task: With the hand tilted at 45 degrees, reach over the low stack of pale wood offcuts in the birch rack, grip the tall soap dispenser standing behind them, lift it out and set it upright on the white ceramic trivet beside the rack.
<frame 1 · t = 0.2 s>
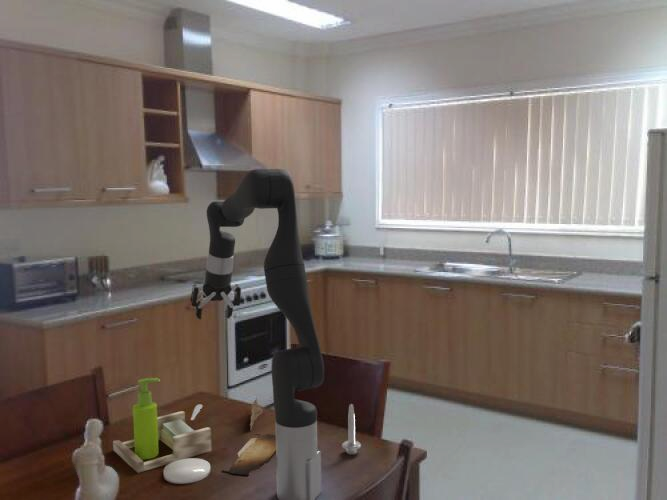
hand: (213, 317, 183), 30 cm above the table, tool tilted 20°, fingers open, 8 cm apart
screw: (351, 453, 159), on the table
soap dispenser: (149, 455, 159), resting in offcut rack
offcut rack: (160, 451, 161), on the table
butter knife: (192, 422, 183), on the table
parchment: (256, 455, 159), on the table
ceramic trivet: (187, 472, 149), on the table
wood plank: (256, 422, 182), on the table
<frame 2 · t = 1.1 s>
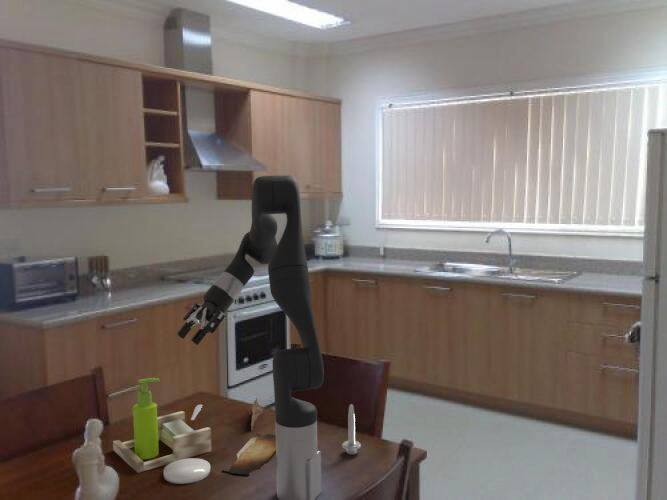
hand: (186, 339, 164), 28 cm above the table, tool tilted 45°, fingers open, 8 cm apart
nothing on the table moved.
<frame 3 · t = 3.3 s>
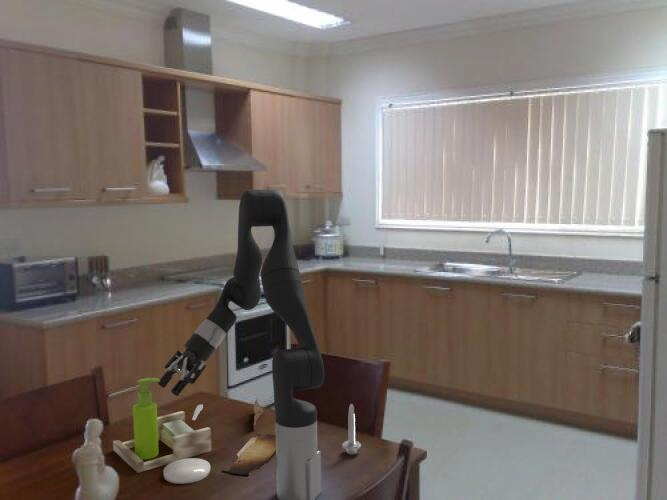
hand: (167, 389, 161), 16 cm above the table, tool tilted 45°, fingers open, 8 cm apart
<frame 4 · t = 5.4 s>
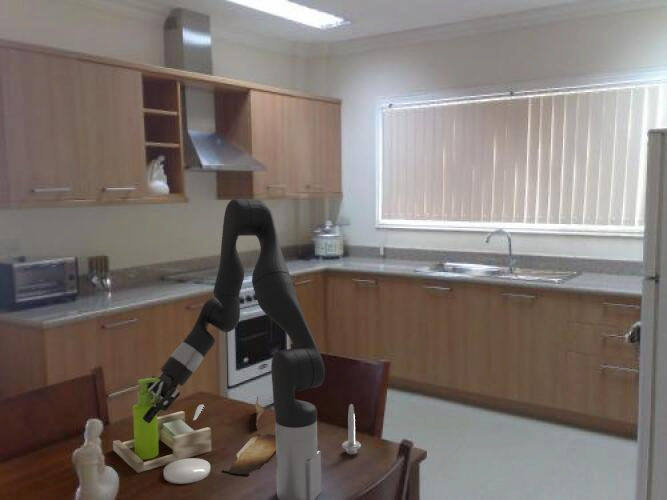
hand: (140, 417, 157), 10 cm above the table, tool tilted 45°, fingers closed on soap dispenser, 6 cm apart
soap dispenser: (149, 455, 159), resting in offcut rack, touching gripper
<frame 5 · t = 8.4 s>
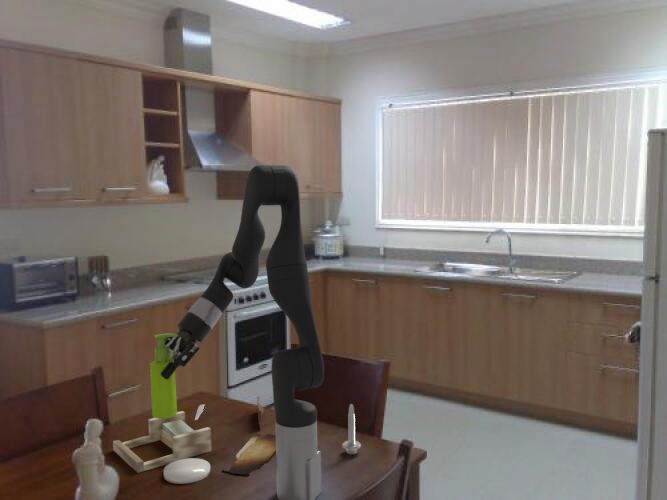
hand: (158, 374, 150), 23 cm above the table, tool tilted 45°, fingers closed on soap dispenser, 6 cm apart
soap dispenser: (167, 414, 152), point 13 cm above the table, touching gripper
when the fingers open (12 cm above the table, at t = 11.7 s): soap dispenser stays where it is, resting on ceramic trivet.
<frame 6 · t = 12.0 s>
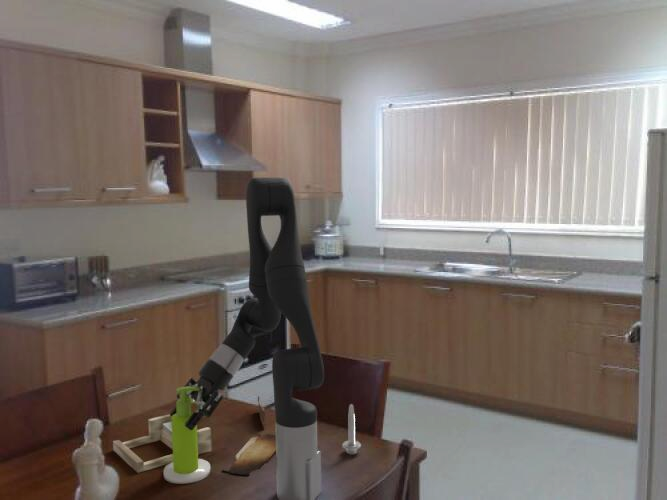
hand: (180, 422, 147), 13 cm above the table, tool tilted 45°, fingers open, 8 cm apart
soap dispenser: (188, 468, 149), point 1 cm above the table, touching ceramic trivet
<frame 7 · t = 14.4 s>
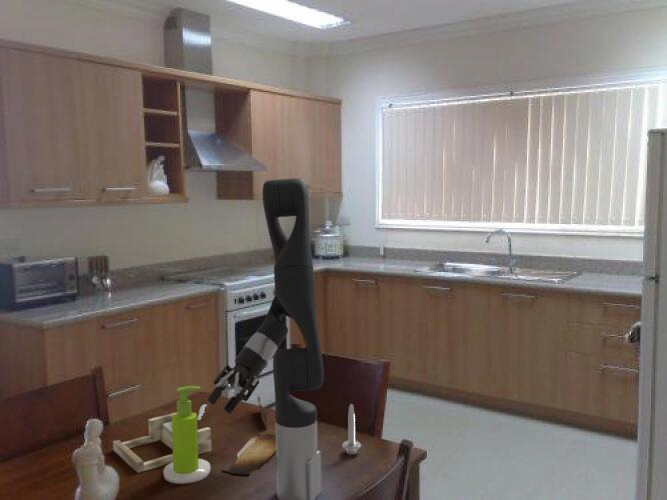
hand: (218, 407, 153), 14 cm above the table, tool tilted 45°, fingers open, 8 cm apart
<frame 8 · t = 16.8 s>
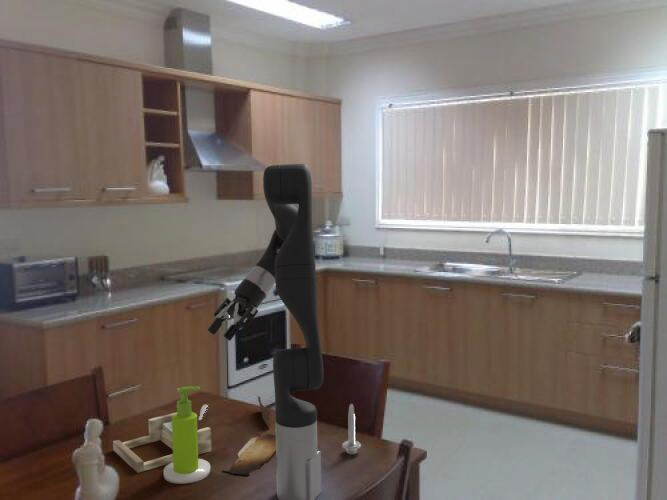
hand: (218, 335, 159), 31 cm above the table, tool tilted 45°, fingers open, 8 cm apart
at the end: soap dispenser inside the target area on the ceramic trivet (0.3 cm from its centre), point 1.0 cm above the ceramic trivet's base; soap dispenser tilted 0°; the gripper is holding nothing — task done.
